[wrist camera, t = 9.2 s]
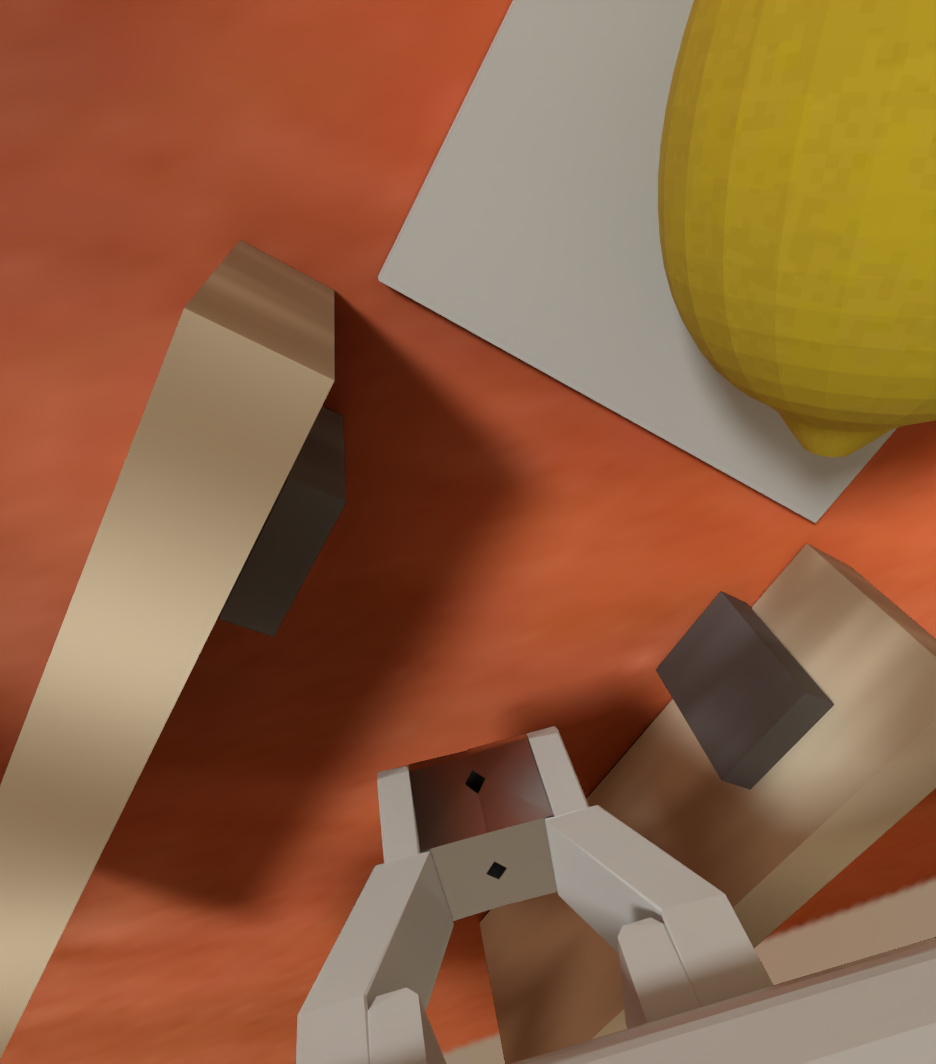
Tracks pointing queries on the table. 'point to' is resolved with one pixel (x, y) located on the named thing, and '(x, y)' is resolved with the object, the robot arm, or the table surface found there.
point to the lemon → (808, 208)
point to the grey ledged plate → (588, 238)
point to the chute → (271, 586)
